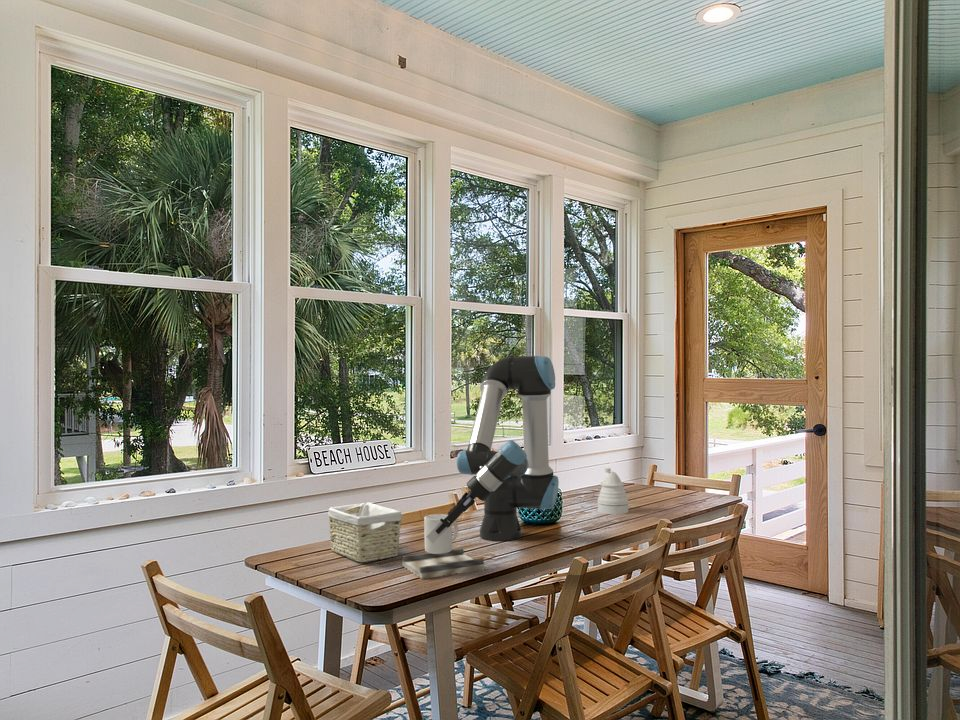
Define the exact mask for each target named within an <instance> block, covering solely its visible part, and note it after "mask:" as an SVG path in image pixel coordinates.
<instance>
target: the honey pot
mask: <svg viewBox="0 0 960 720" xmlns="http://www.w3.org/2000/svg"><path fill="white" fill-rule="evenodd" d="M611 470H612V469H611V468H609V467H608V468H607V467H605V468H604V471H605V473H606V474H607V475H606V477H605V478H604V480H603V481H602V482H600V484H599V485H600V486H601V489H600V490H599V494H598V497H597V512H598V513H600V512H601V513H600V514H605V513H607V514H606V515H624V514H628V513H629V498H628V495H627V493H626V489H625V488H624V486H625V484H624V482H622V480H621V479H620V477H619V475H618V474H617V473H616V472H614V471H611Z"/></svg>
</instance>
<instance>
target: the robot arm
mask: <svg viewBox="0 0 960 720" xmlns="http://www.w3.org/2000/svg"><path fill="white" fill-rule="evenodd" d="M555 374H556V373H555V369H554V365H553V362H552V359H551V358H549V357H548V356H544V355H543V356H542V355H541V356H540V355H530V356H529V355H528V356H527V355H526V356H506V357H503V358H500V359H499V360H497V361H496V362H494V363H493V364H491V366H490V367H489V368H488V369H487V371H486V372H485V373H484V375H483V376H482V377H483V378H482V380H481V383H480V386H479V388H480V392H481V394H480V397H479V398H480V399H479V403H478V406H477V410H476V414H475V416H474V417H475V418H474V422H473V425H472V429H471V433H470V437H469V441H468V446H467V449H465V450H460V451H459V452H458V453H457V456H456V457H457V458H456V468H457V471H458V472H459V473H460V474H462V475H463V474H464V475H471V476H472V477H471V478H470V479H469V481H468V482H466V487H467V488H468V492H467V491H466V492H465V493H464V494H463V495H462V496H461V498H459V499H458V501H457V503H456V504H455V505H454V506H453V507H452V508H451V509H450V510H449V511H448V512H447V514H445V515H448V516H447V517H446V518H445V519H442V518H441V519H440V521H441V522H440V523H439V524H438V525H437V526H436V527H435V528H434V529H433V530H432V531H431V532H430V533H429V534H428V535H427V536H426V537H427V538H428V539H429V540H430V541H431V542H432V543H433V542H434V541H435V540H436V539H437V538H438V537H439V536H440V535H441V534H442V533H443V532H444V531H445V530H446V529H447V528H448V527H450V525H451V524H452V525H453V522H454V521H455V520H456V521H457V520H458V518H459V517H460V516H461V515H462V514H464V513H465V512H466V511H467V510H468V509H469V508H470V507H472V506H473V505H474V504H475V502H476V500H475V499H476V498H478V500H480V501H482V502H483V505H484V511H483V512H484V515H483V519H482V520H481V526H480V529H479V537H480V538H481V539H483V540H487V541H488V540H489V541H494V542H495V541H496V542H497V541H498V542H499V541H501V542H502V541H504V542H505V541H512V540H513V541H514V540H518V539H520V538H521V537H522V535H523V533H522V532H523V531H522V527H521V524H520V521H519V518H518V515H517V509H535V510H537V509H539V510H551V509H552V508H553V507H555V504H556V502H557V499H558V492H559V481H560V480H559V477H558V476H557V475H555V474H554V469H553V468H552V467H551V466H550V465H549V463H550V462H549V435H548V433H549V432H548V407H547V406H548V402H547V399H548V398H549V397H550V396H551V392H552V391H551V390H554V389H555V387H556V375H555ZM509 390H517V396H518V397H519V398H521V400H522V402H521V403H522V405H521V406H522V428H523V429H522V432H523V447H521V446H520V445H519V444H517V443H516V442H515V440H511V439H510V440H508V441H507V442H506V443H504V445H501V447H500V449H499V450H496V451H495V450H493V451H492V445H493V441H494V439H495V437H494V436H495V433H496V428H497V424H498V420H499V416H500V412H501V411H500V410H501V407H502V402H503V398H504V397H506V396H507V394H508V391H509ZM447 520H448V521H449V522H450V523H449V522H448V521H447Z"/></svg>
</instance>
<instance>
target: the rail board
mask: <svg viewBox="0 0 960 720" xmlns="http://www.w3.org/2000/svg"><path fill="white" fill-rule="evenodd" d="M484 560H485V559H484V558H482V557H481V558H475V559H474V558H472V557H470V556H468V555H467V554H465V553H464V548H454V549H453V548H452V550H451V551H450V552H448V553H443V554H431V553H427V552H422V553H415V554H408V555H403V556H402V561H401V564H402V565H401V566H402V567H403V566H404V567H403V568H405V569H406V568H407V569H406V570H408V571H409V570H410V571H409V572H410V573H412V572H413V573H412V574H414V575H415V574H416V575H415V576H417V577H418V576H419V577H418V578H419V579H421V580H422V579H423V580H424V578H425V579H429V578H439V577H444V576H443V575H445V576H450V575H449V574H451V575H456V574H455V573H458V574H463V573H462V572H465V573H470V571H471V572H476V571H484V570H485V561H484ZM468 571H469V572H468Z"/></svg>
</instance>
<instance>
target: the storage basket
mask: <svg viewBox="0 0 960 720" xmlns="http://www.w3.org/2000/svg"><path fill="white" fill-rule="evenodd" d="M355 514H356V515H355ZM327 516H328V518H329V522H328V523H329V536H330V537H329V539H330V550H331V551H332V552H334V553H335V552H336V553H335V554H338V555H341V556H343V557H346V558H347V559H350V560H352V561H355V562H357V563H366V562H372V561H374V562H375V561H377V560H384V559H390V558H395V557H397V556H398V555H399V547H400V536H401V535H400V534H401V533H400V532H401V531H400V530H401V525H402V520H403V516H402V511H400V510H397V509H393V508H390V507H385V506H382V505H379V504H375V503H372V502H369V501H368V502H363V503H361V502H360V503H354V504H347V505H345V504H344V505H340V506H339V505H338V506H330V507H329V509H328V512H327Z"/></svg>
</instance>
